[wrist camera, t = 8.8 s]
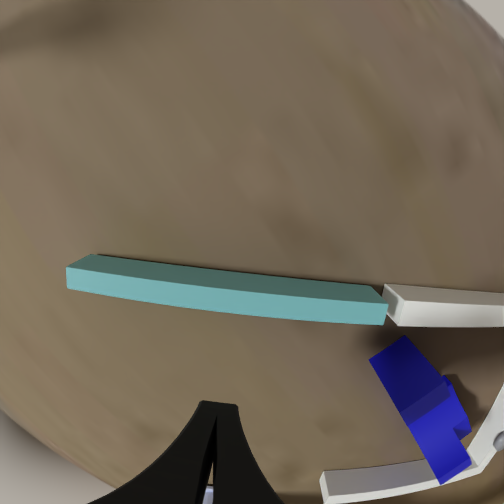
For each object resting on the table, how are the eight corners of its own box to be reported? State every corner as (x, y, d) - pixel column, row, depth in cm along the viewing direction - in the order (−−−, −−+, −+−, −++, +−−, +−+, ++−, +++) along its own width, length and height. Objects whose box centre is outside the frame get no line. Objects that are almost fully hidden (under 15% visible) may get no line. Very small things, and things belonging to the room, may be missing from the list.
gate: (90, 272, 18) (67, 288, 15) (90, 254, 18) (66, 266, 15) (365, 304, 19) (383, 325, 16) (370, 285, 18) (388, 304, 15)
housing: (472, 455, 23) (486, 476, 20) (319, 480, 23) (325, 511, 19) (547, 296, 19) (573, 310, 15) (384, 283, 19) (411, 306, 15)
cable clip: (456, 411, 22) (487, 452, 16) (416, 440, 22) (440, 485, 16) (421, 321, 19) (466, 364, 14) (367, 358, 20) (399, 412, 14)
